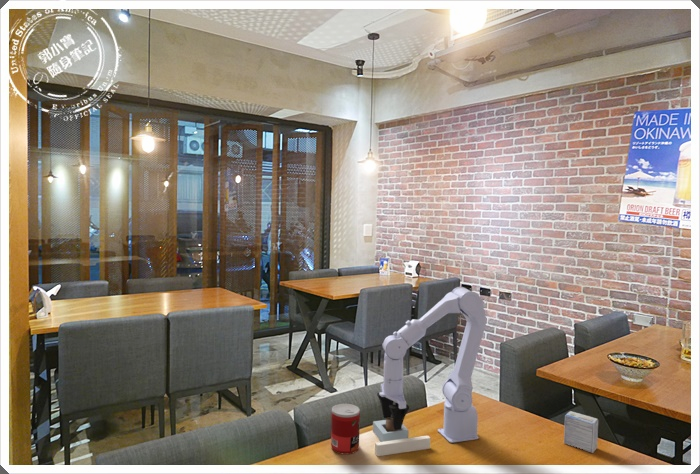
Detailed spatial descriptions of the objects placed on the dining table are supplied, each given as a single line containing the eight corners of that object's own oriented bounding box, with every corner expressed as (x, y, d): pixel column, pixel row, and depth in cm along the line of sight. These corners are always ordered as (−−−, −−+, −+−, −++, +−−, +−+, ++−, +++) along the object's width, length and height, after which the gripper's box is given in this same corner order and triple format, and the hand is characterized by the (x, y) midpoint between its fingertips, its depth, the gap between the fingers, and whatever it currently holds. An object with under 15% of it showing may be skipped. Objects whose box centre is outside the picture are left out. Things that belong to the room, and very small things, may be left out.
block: (397, 427, 139) (397, 418, 139) (408, 440, 132) (408, 430, 131) (372, 431, 137) (373, 421, 137) (382, 444, 129) (382, 433, 129)
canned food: (356, 456, 122) (357, 416, 122) (327, 452, 124) (328, 413, 123) (361, 442, 130) (362, 405, 129) (334, 439, 131) (335, 402, 131)
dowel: (394, 434, 135) (394, 417, 135) (398, 439, 132) (399, 422, 132) (383, 435, 134) (384, 418, 134) (388, 440, 131) (388, 424, 131)
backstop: (427, 445, 129) (427, 435, 129) (430, 448, 127) (430, 438, 127) (374, 453, 124) (375, 442, 124) (376, 456, 122) (377, 445, 122)
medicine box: (597, 448, 130) (599, 418, 129) (593, 454, 126) (594, 423, 126) (568, 438, 135) (569, 410, 135) (563, 443, 132) (564, 414, 131)
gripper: (371, 370, 138) (370, 414, 139) (390, 387, 124) (389, 436, 125) (393, 368, 140) (392, 411, 141) (413, 385, 126) (412, 433, 127)
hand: (392, 422), depth 133 cm, fingers open, 7 cm apart
